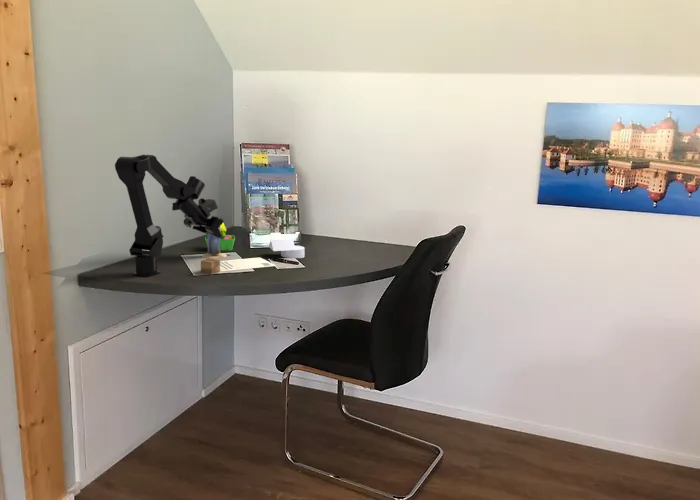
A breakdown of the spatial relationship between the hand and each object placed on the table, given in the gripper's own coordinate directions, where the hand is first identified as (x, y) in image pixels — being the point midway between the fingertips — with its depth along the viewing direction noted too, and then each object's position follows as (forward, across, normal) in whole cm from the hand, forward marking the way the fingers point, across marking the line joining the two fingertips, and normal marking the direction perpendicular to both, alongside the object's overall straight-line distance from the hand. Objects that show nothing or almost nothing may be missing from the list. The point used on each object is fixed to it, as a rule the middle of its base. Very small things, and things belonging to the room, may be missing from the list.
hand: (216, 236), depth 235 cm
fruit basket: (+11, +10, 0) cm, 15 cm away
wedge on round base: (+20, -16, -9) cm, 28 cm away
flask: (+4, 0, +5) cm, 6 cm away
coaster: (+5, 0, +6) cm, 8 cm away
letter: (+4, -17, +6) cm, 19 cm away
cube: (-6, -20, +17) cm, 27 cm away
